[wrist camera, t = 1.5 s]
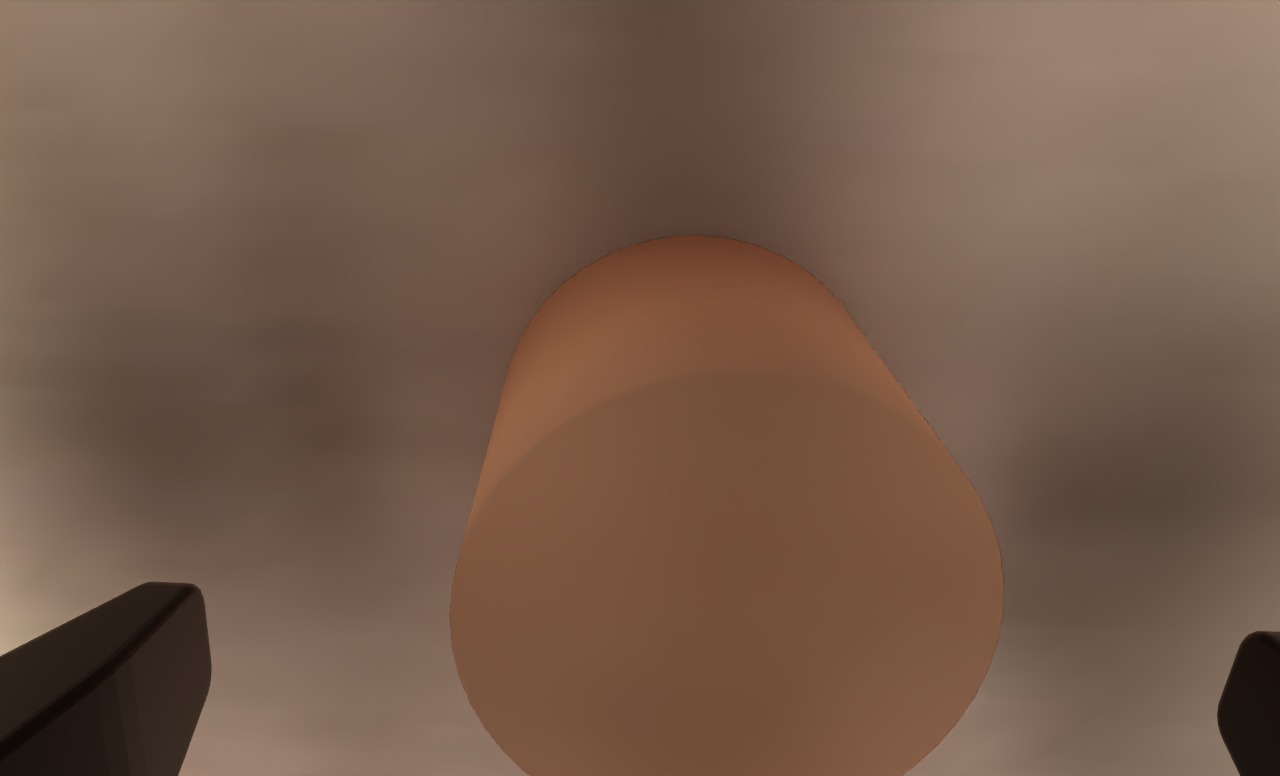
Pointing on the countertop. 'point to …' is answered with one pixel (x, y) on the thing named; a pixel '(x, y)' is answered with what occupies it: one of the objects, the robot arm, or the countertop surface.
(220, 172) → the countertop surface
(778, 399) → the tan cylinder
